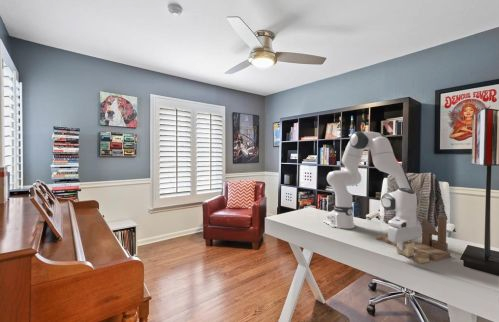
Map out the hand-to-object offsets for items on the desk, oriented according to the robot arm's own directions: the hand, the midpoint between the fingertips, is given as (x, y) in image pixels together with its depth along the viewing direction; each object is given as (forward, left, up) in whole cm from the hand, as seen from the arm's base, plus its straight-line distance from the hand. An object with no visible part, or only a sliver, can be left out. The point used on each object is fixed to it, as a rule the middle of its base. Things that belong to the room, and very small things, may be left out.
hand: (405, 248), depth 122 cm
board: (-6, +12, -3) cm, 14 cm away
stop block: (+8, 0, -3) cm, 9 cm away
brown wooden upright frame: (-1, +24, -3) cm, 24 cm away
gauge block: (0, 0, -3) cm, 3 cm away
